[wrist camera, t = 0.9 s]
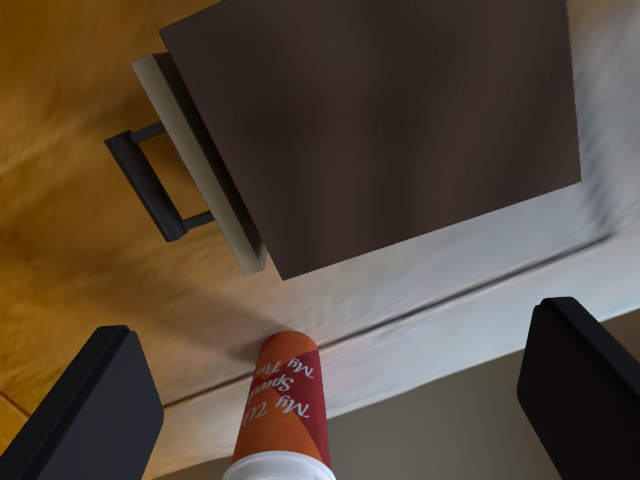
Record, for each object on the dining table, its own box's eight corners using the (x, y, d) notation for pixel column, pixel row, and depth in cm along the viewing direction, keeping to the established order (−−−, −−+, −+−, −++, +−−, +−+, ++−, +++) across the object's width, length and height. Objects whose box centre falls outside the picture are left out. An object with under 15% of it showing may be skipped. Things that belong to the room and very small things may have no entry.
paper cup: (304, 309, 36) (299, 456, 23) (344, 365, 39) (359, 521, 26) (231, 343, 37) (189, 497, 25) (275, 394, 40) (258, 554, 28)
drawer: (202, 243, 31) (171, 301, 24) (112, 85, 26) (38, 103, 19) (460, 150, 28) (508, 187, 21) (416, -49, 23) (461, -86, 16)
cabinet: (291, 214, 31) (282, 281, 23) (209, 32, 26) (157, 30, 17) (503, 139, 29) (582, 182, 20) (466, -82, 23) (555, -152, 15)
